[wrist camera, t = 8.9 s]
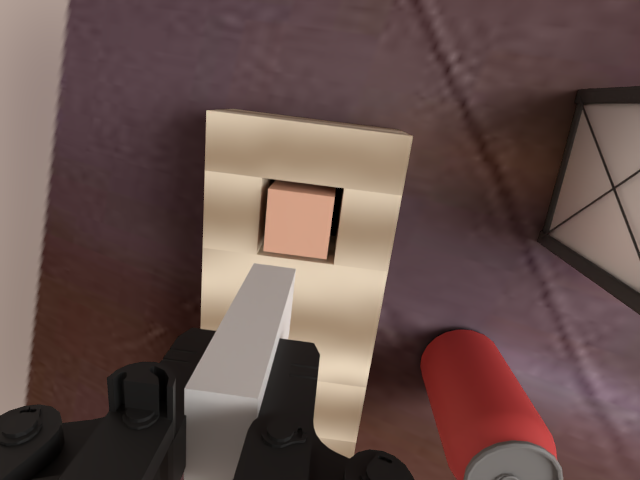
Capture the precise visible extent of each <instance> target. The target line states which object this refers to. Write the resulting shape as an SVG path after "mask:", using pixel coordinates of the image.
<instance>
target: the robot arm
mask: <svg viewBox="0 0 640 480" xmlns="http://www.w3.org/2000/svg"><path fill="white" fill-rule="evenodd" d="M295 273H296V269H294V268H286V267H279V266H271V265H264V264H256V263H254V264H253V266H252V267H251V269H250V271H249V273H248V275H247V276H246V278H245V280H244V282H243V284H242V285H241V287H240V289H239V291H238V293H237V295H236V296H235V298H234V300H233V302H232V304H231V305H230V307H229V309H228V311H227V313H226V314H225V316H224V318H223V320H222V322H221V323H220V325H219V327H218V329H217V331H214V330H206V329H199V328H191V329H189V330H188V331H186V332H185V333H183V334H181V335H180V336H178V338H177V339H176V340H175V342H174V343H173V345H172V346H171V348H170V351H168V352H167V353H166V355H165V356H164V358H163V360H161V362H160V363H156V362H139V363H134V364H129V365H127V366H125V367H122V368H120V369H118V370H116V371H115V372H114V373H112V374H111V375H110V376H109V377H108V378H107V385H108V399H109V412H108V414H107V415H106V416H105V417H103V418H98V419H93V420H86V421H77V422H68V423H62V419H61V416H60V412H59V411H57V410H56V409H54V408H53V407H51V406H45V405H30V406H23V407H20V408H17V409H14V410H10V411H8V412H6V413H4V414H2V415H0V480H180V479H181V477H182V474H183V472H184V480H414V478H413V476H412V474H411V473H410V471H409V470H408V468H407V467H406V465H405V464H403V463H402V462H401V461H400V460H399V459H397V458H396V457H395V456H393V455H391V454H388V453H386V452H384V451H378V450H365V451H361V452H358V453H356V454H355V455H354V456H353V457H351V458H348V457H345V456H343V455H341V454H339V453H337V452H335V451H333V450H331V449H330V448H328V447H327V446H326V445H325V444H324V443H322V442H321V440H320V439H319V437H318V436H317V434H316V432H315V429H314V422H313V419H314V410H315V400H316V390H317V380H318V370H319V361H320V353H319V352H318V350H317V348H316V346H315V344H314V343H311V342H304V341H297V340H289V339H288V337H289V330H290V320H291V311H292V302H293V292H294V283H295Z"/></svg>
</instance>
